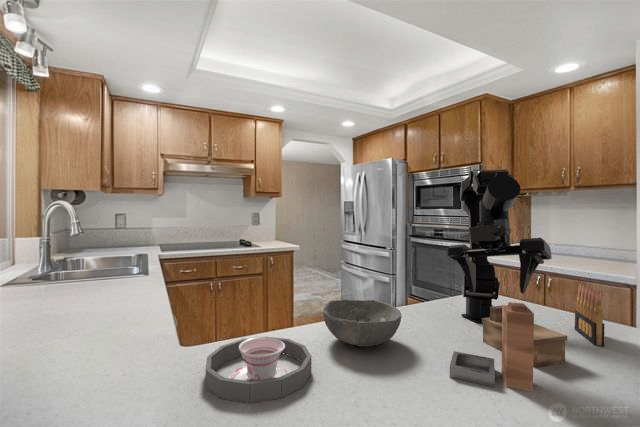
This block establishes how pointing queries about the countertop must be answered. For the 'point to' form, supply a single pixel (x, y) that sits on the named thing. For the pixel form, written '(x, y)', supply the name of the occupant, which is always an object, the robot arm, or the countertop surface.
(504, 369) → the reddish brown rectangular block
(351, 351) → the countertop surface
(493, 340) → the light brown wooden box
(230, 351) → the coaster ring
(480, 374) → the frame
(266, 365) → the teacup
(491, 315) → the lid
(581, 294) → the ammunition clip
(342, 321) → the bowl
